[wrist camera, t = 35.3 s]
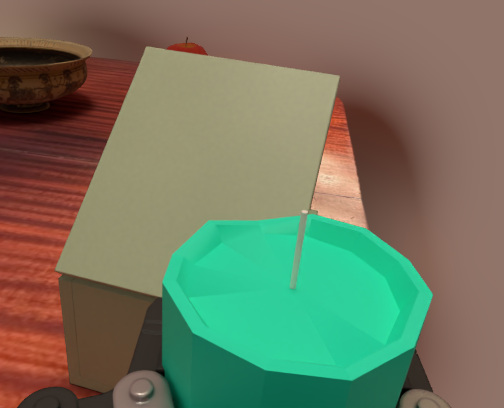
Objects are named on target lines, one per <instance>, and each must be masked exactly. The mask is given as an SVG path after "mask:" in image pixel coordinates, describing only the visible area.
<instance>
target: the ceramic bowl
mask: <svg viewBox="0 0 504 408" xmlns="http://www.w3.org/2000/svg"><path fill="white" fill-rule="evenodd" d="M91 54H92V50H91V49H90V48H88V47H86V46H83V45H79V44H76V43H72V42H65V41H59V40H52V39H41V38H17V37H0V103H2V104H1V105H0V109H2V110H4V111H7V112H14V113H31V112H38V111H43V110H45V109H48V108H49V107H50V104H49V103H48V102H47V101H51V100H55V99H58V98H61V97H64V96H66V95H68V94H70V93H72V92H74V91H76V90H77V89H78V88H80V87H81V86H82V85H83V83H84V82H85V80H86V78H87V66H86V63H85V60H86V59H88V58H89V57H90V55H91Z"/></svg>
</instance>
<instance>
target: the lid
mask: <svg viewBox="0 0 504 408" xmlns="http://www.w3.org/2000/svg"><path fill="white" fill-rule="evenodd" d="M339 80H340V76H338V75H331V74H324V73H318V72H311V71H304V70H298V69H291V68H285V67H278V66H272V65H265V64H258V63H252V62H245V61H238V60H232V59H225V58H219V57H212V56H206V55H199V54H193V53H186V52H179V51H173V50H166V49H160V48H153V47H146V49H145V52H144V54H143V57H142V59H141V62H140V64H139V66H138V69H137V71H136V74H135V76H134V79H133V81H132V83H131V86H130V88H129V91H128V93H127V96H126V98H125V100H124V103H123V105H122V108H121V110H120V113H119V115H118V117H117V120H116V122H115V125H114V127H113V130H112V132H111V135H110V137H109V139H108V142H107V144H106V147H105V149H104V152H103V154H102V156H101V159H100V161H99V164H98V166H97V169H96V171H95V173H94V176H93V178H92V181H91V183H90V186H89V188H88V190H87V193H86V195H85V198H84V200H83V203H82V205H81V208H80V210H79V212H78V215H77V217H76V220H75V222H74V225H73V227H72V229H71V232H70V234H69V237H68V239H67V242H66V244H65V246H64V249H63V251H62V254H61V256H60V259H59V261H58V263H57V266H56V268H55V271H56V272H58V273H60V274H63V275H67V276H71V277H75V278H79V279H83V280H87V281H91V282H95V283H99V284H102V285H106V286H110V287H114V288H118V289H122V290H126V291H130V292H134V293H138V294H142V295H146V296H150V297H154V298H158V297H161V298H162V282H163V279H164V276H165V273H166V271H167V268H168V265H169V262H170V260H171V257H172V254H173V253H174V252H175V251H176V250H178V249H179V248H180V247H181V246H182V245H183V244H184V243H185V242H186V241H187V240H188V239H189V238H190V237H191V236H193V235H194V234H195V233H196V232H197V231H198V230H199V229H200V228H201V227H202V226H203V225H204V224H205V223H206V222H208V221H209V220H251V221H258V220H266V219H275V218H283V217H292V216H300V215H301V211H302V210H306V211H308V215H309V212H310V208H311V203H312V199H313V195H314V190H315V186H316V182H317V177H318V173H319V168H320V164H321V160H322V155H323V151H324V147H325V142H326V138H327V134H328V129H329V125H330V121H331V116H332V112H333V108H334V103H335V99H336V95H337V90H338V86H339Z"/></svg>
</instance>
